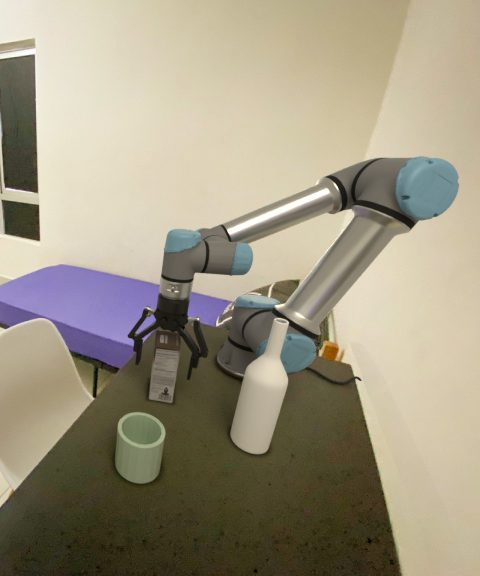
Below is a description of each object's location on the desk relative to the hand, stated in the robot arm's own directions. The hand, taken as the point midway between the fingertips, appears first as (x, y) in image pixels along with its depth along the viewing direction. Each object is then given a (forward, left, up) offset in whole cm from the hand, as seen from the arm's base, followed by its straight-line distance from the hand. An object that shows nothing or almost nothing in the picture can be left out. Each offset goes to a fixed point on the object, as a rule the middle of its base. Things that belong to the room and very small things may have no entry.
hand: (162, 369), depth 87 cm
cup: (-1, +25, -7) cm, 26 cm away
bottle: (-22, +8, -7) cm, 25 cm away
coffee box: (0, 0, -7) cm, 7 cm away
